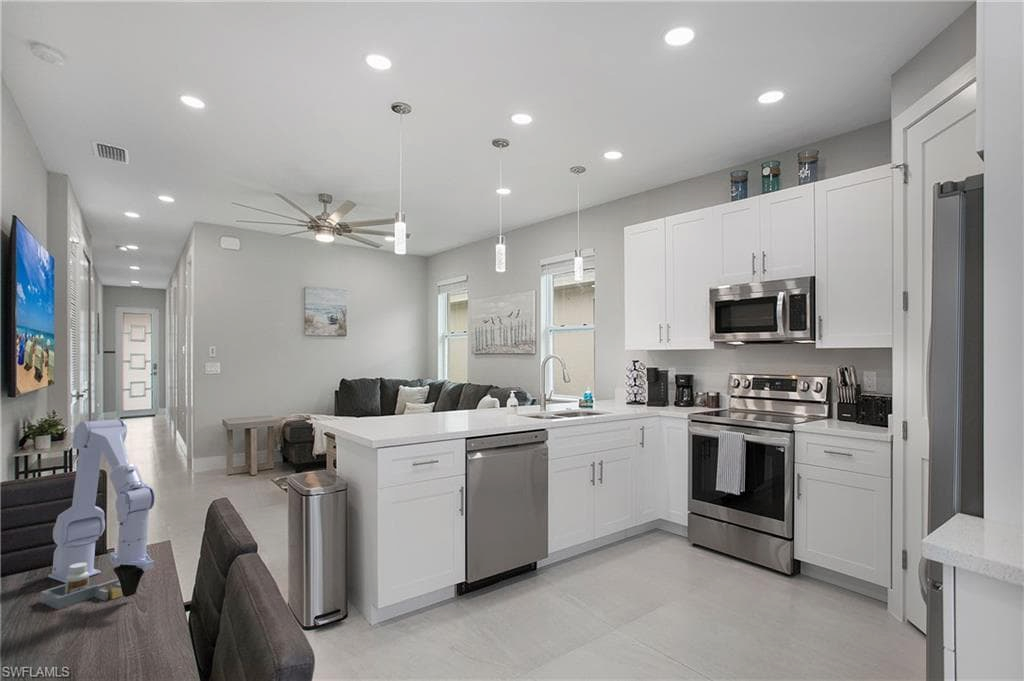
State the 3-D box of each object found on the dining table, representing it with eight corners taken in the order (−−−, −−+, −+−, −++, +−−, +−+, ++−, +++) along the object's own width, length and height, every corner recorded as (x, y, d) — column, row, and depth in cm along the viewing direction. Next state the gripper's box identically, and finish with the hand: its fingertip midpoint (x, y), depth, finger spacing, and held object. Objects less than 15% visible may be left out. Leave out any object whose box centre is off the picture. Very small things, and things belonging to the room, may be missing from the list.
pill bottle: (67, 602, 122) (70, 569, 123) (61, 597, 125) (64, 565, 125) (90, 596, 126) (92, 564, 126) (84, 591, 128) (86, 560, 129)
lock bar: (98, 594, 127) (99, 587, 127) (109, 590, 129) (109, 583, 129) (112, 599, 124) (112, 591, 124) (123, 595, 126) (123, 588, 126)
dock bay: (39, 602, 122) (40, 590, 122) (97, 583, 133) (98, 572, 133) (67, 613, 117) (68, 601, 117) (125, 593, 128) (125, 581, 128)
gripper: (97, 538, 124) (93, 595, 123) (132, 548, 118) (128, 608, 117) (128, 530, 130) (125, 584, 129) (164, 539, 124) (160, 596, 123)
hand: (129, 595), depth 123 cm, fingers closed
